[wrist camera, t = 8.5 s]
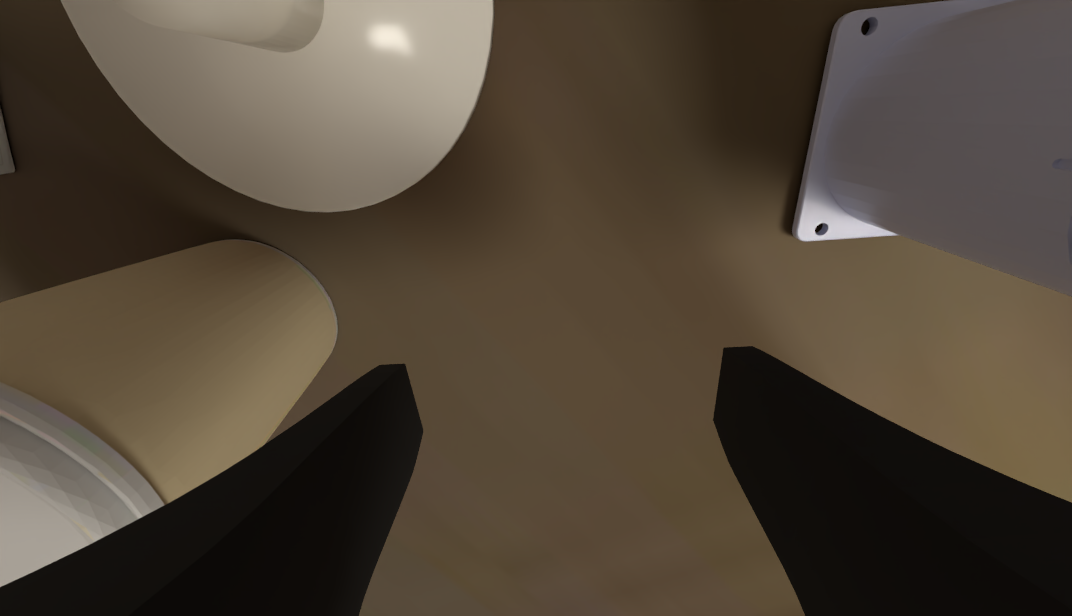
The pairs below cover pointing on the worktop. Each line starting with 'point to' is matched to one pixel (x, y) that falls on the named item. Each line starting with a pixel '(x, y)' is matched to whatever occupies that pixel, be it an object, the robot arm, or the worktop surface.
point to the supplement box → (5, 150)
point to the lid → (297, 88)
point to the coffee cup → (146, 388)
